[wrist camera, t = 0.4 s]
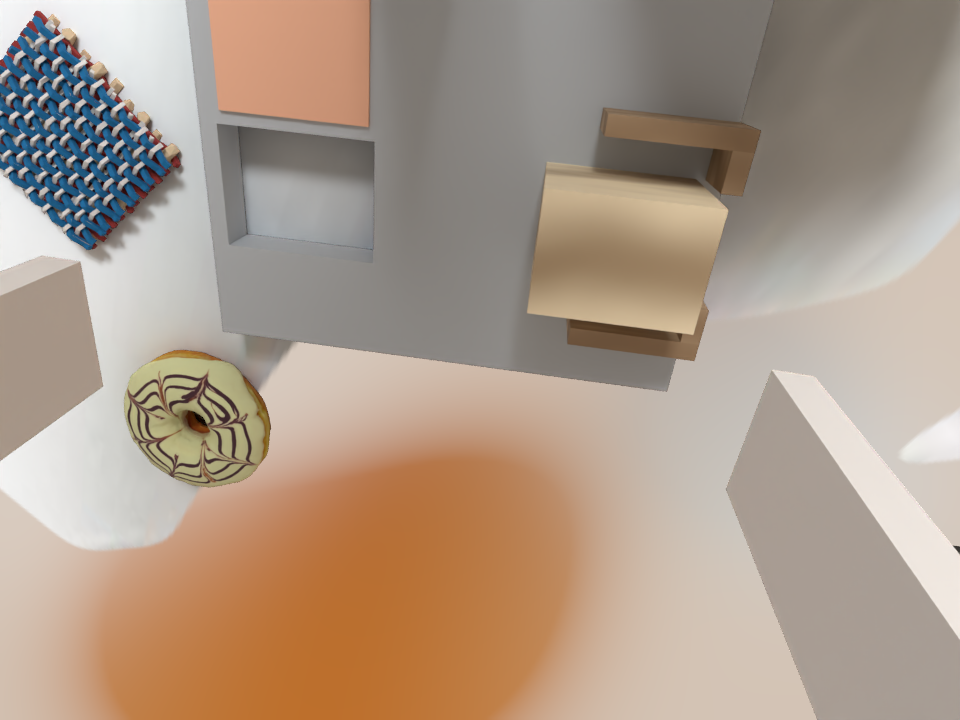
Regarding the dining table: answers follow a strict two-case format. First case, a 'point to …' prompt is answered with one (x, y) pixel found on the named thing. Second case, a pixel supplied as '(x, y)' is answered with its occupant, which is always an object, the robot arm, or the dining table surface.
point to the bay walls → (724, 174)
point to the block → (624, 247)
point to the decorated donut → (179, 435)
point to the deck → (450, 156)
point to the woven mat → (74, 135)
